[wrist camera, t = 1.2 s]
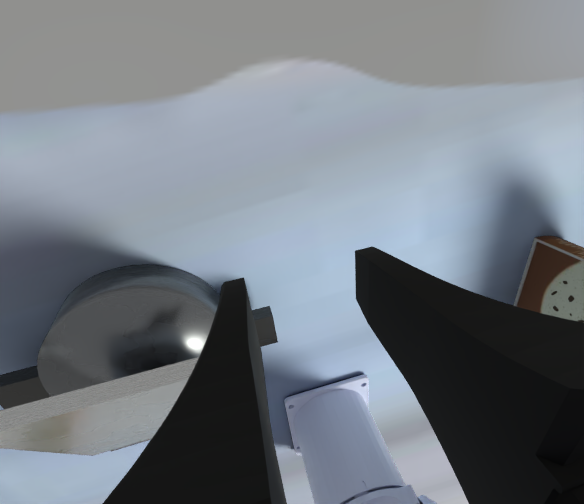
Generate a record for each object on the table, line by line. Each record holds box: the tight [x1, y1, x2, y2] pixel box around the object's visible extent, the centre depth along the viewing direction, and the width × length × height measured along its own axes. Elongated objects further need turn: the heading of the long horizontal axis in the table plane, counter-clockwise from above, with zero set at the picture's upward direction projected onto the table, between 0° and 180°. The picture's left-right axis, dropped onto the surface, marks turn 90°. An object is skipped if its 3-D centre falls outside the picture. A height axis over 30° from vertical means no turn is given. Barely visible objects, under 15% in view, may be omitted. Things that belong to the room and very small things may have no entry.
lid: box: [0, 357, 199, 456], centre depth 19 cm, size 12×10×2 cm
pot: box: [0, 265, 278, 409], centre depth 22 cm, size 12×17×3 cm
